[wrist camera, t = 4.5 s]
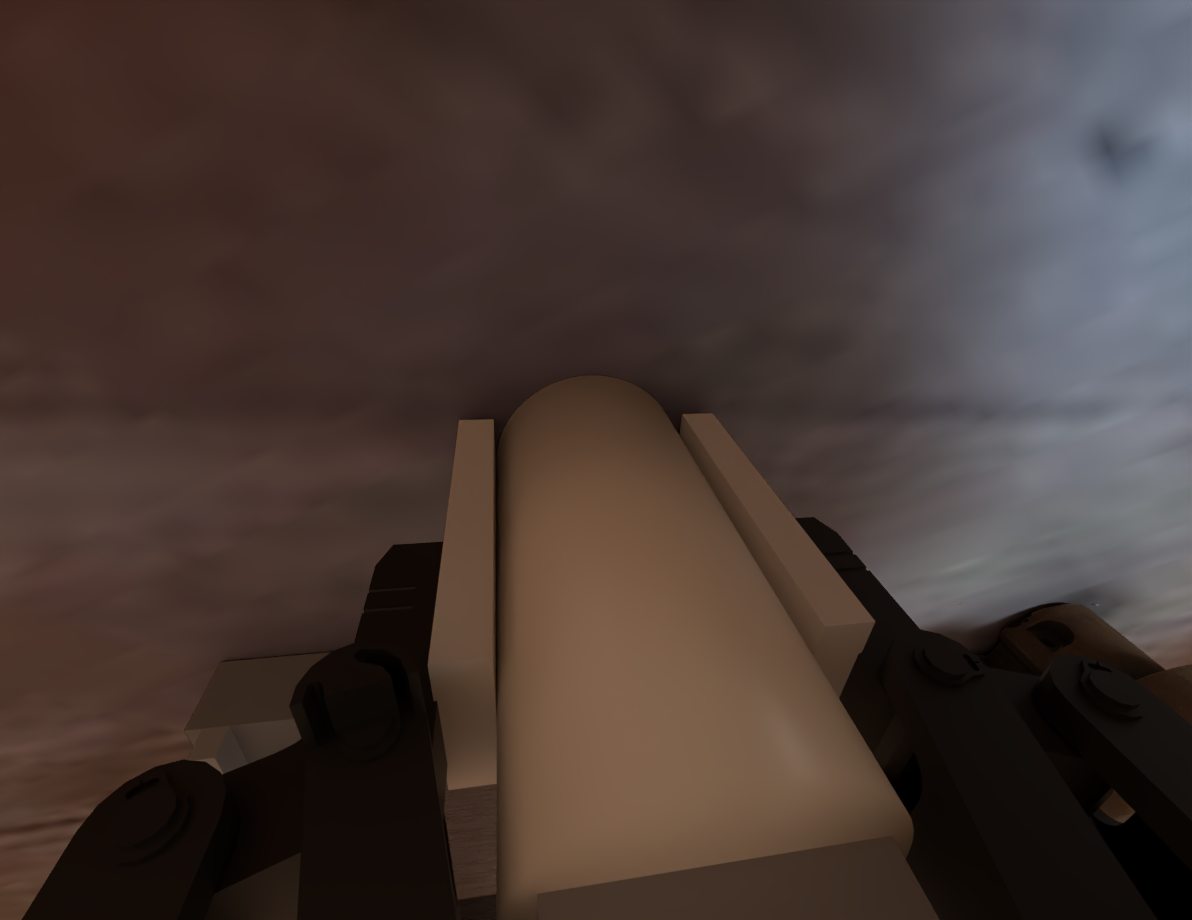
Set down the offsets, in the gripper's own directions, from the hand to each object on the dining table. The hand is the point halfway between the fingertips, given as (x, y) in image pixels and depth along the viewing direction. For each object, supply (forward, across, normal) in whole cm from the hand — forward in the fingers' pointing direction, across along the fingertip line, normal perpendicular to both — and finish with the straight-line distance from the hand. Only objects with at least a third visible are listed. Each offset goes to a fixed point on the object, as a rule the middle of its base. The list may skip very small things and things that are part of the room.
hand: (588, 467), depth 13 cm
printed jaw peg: (0, 0, 0) cm, 0 cm away
